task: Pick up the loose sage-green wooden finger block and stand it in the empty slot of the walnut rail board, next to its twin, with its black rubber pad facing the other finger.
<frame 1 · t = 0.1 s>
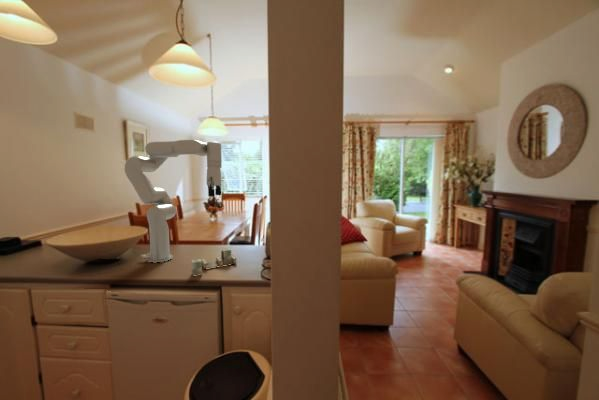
hand: (215, 195, 136), 37 cm above the table, tool pointing down, fingers open, 9 cm apart
rail board: (219, 265, 133), on the table
tin: (109, 259, 140), on the table
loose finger: (196, 274, 119), on the table
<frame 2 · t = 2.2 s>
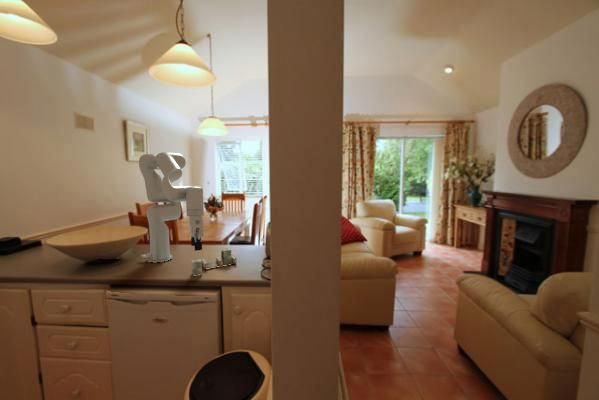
hand: (196, 247, 118), 14 cm above the table, tool pointing down, fingers open, 9 cm apart
nothing on the table moved.
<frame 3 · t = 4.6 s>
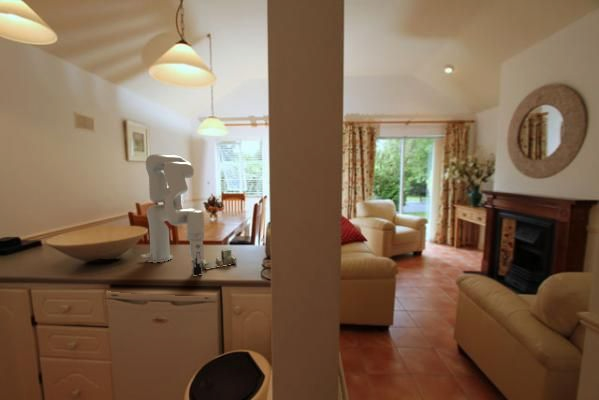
hand: (196, 272, 119), 1 cm above the table, tool pointing down, fingers closed on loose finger, 4 cm apart
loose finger: (196, 274, 119), on the table, touching gripper
everything else where it was.
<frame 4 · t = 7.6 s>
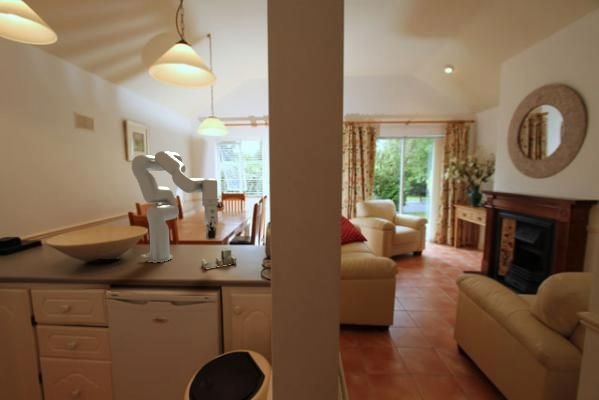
hand: (210, 236, 129), 16 cm above the table, tool pointing down, fingers closed on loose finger, 4 cm apart
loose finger: (210, 238, 129), point 15 cm above the table, touching gripper
everything else where it was.
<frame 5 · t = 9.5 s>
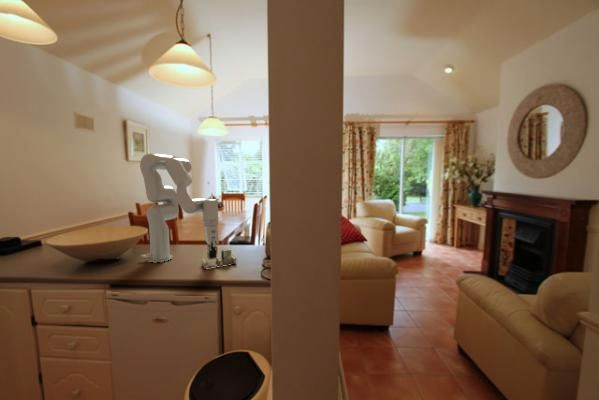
hand: (211, 256, 130), 6 cm above the table, tool pointing down, fingers closed on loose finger, 4 cm apart
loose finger: (212, 258, 130), point 5 cm above the table, touching gripper
everything else where it was.
when the fingers open (3 cm above the table, at t = 10.9 s): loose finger stays where it is, resting on rail board.
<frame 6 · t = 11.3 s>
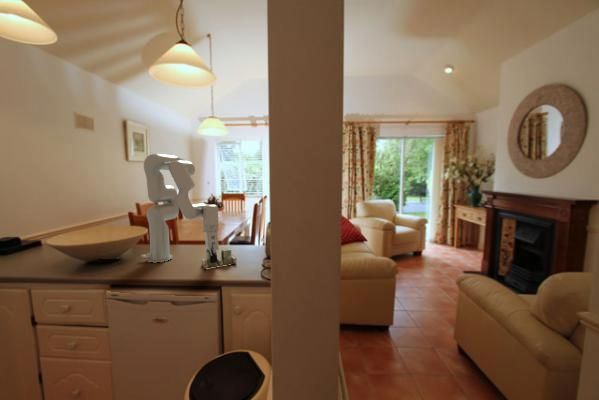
hand: (211, 260, 130), 3 cm above the table, tool pointing down, fingers open, 8 cm apart
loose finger: (211, 264, 131), point 1 cm above the table, touching rail board
everything else where it was.
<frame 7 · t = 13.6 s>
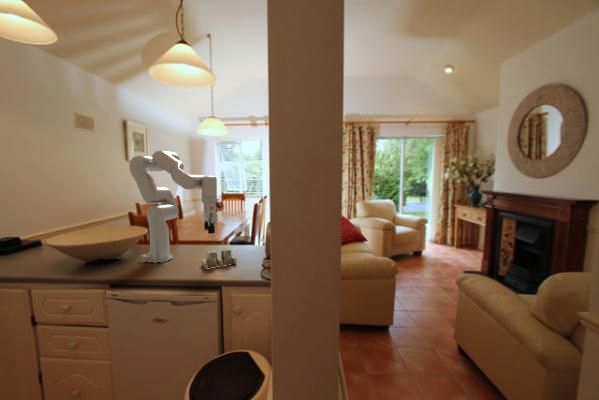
hand: (209, 231, 130), 19 cm above the table, tool pointing down, fingers open, 9 cm apart
nothing on the table moved.
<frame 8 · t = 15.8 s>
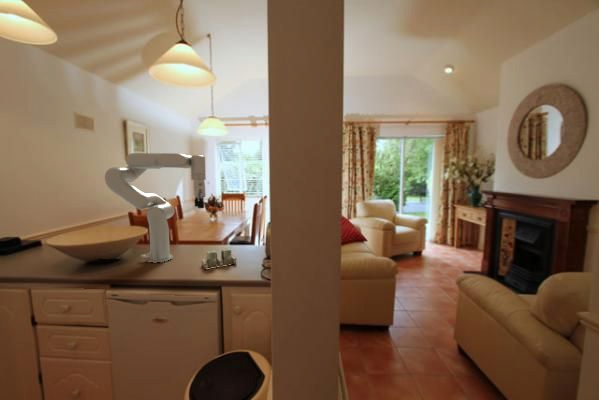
hand: (199, 207, 140), 30 cm above the table, tool pointing down, fingers open, 9 cm apart
nothing on the table moved.
at the end: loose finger 0.1 cm from the target spot on the rail board, point 1.0 cm above the rail board's base; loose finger tilted 0°; the gripper is holding nothing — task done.
